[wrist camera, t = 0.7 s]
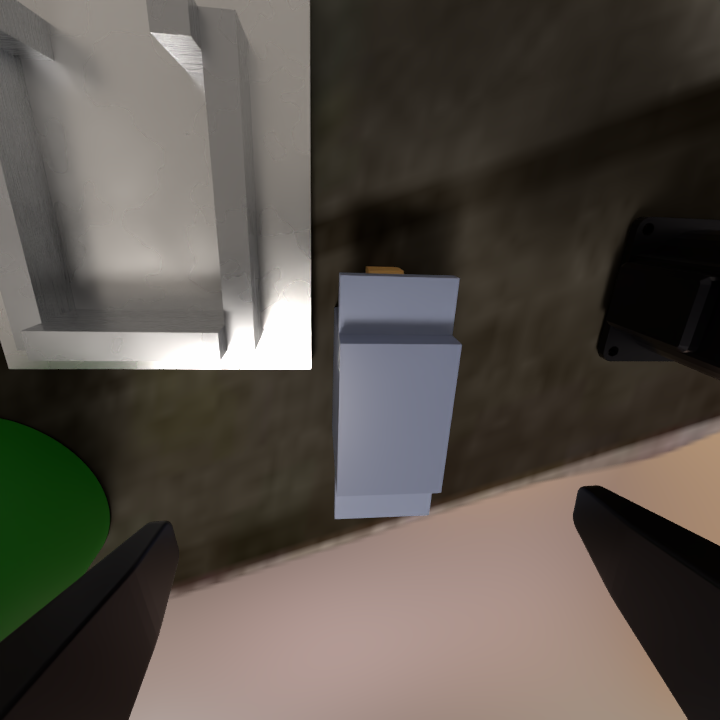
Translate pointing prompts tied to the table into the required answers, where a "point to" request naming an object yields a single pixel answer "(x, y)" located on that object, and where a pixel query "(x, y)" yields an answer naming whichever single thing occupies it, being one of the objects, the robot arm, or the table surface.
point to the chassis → (155, 184)
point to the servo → (392, 390)
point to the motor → (44, 521)
